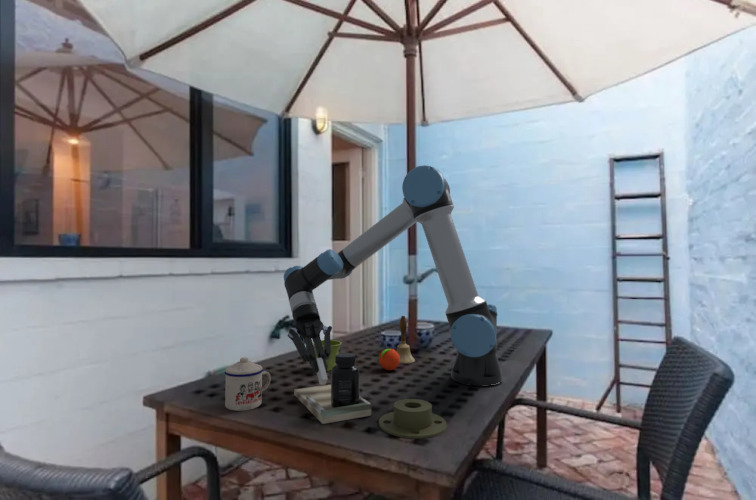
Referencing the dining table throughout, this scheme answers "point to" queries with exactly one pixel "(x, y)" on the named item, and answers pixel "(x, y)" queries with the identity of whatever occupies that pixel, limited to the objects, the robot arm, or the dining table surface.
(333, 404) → the supplement bottle
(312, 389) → the rail board
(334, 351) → the plant pot
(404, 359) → the hand bell
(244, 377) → the teacup with lid
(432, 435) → the flange
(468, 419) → the dining table surface
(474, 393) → the dining table surface
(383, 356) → the clementine
